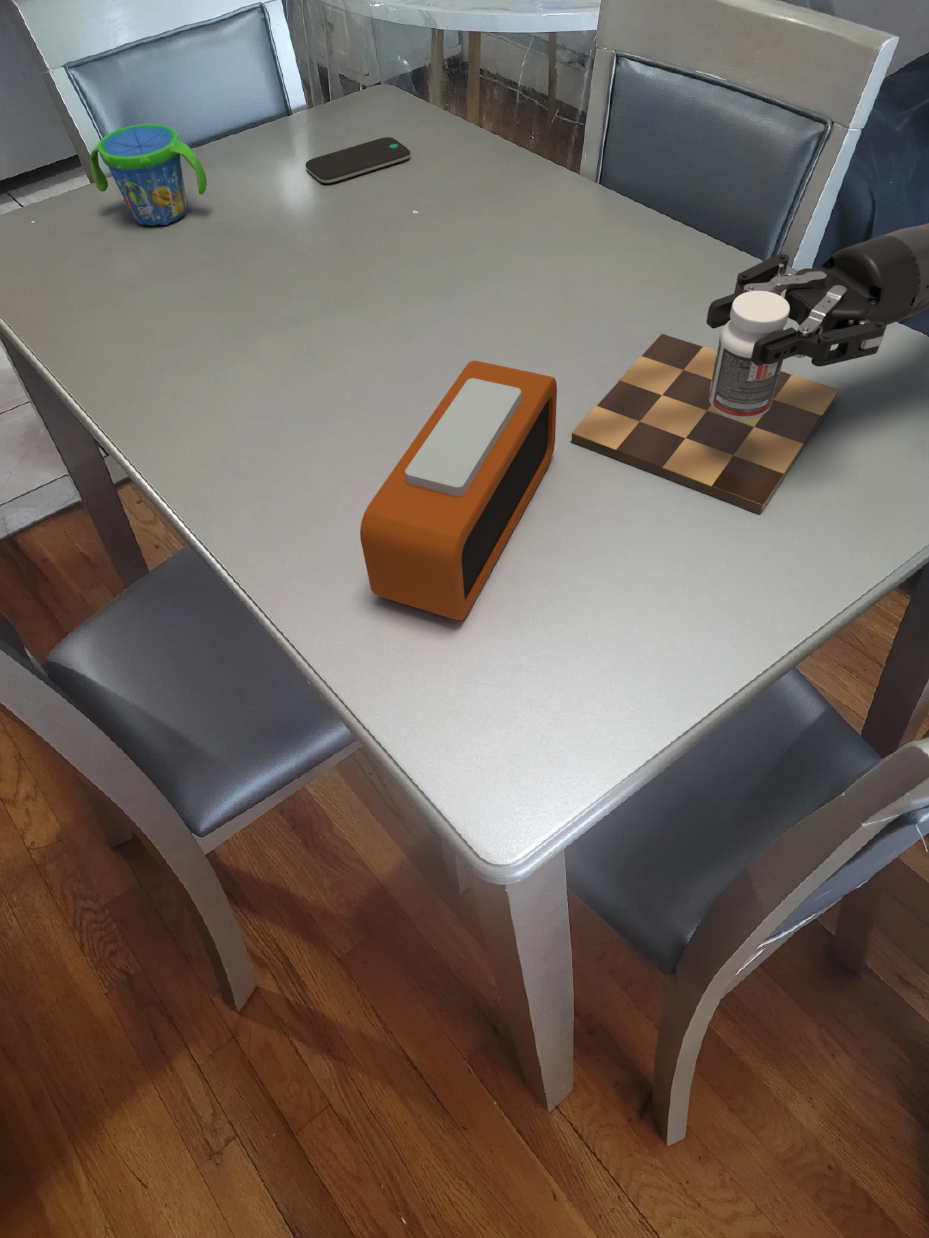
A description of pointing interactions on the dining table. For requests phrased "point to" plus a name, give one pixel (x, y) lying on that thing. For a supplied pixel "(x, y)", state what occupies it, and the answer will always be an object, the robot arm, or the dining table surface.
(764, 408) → the pill bottle
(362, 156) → the smartphone
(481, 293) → the dining table surface
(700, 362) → the chessboard
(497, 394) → the alarm clock
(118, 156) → the snack cup
